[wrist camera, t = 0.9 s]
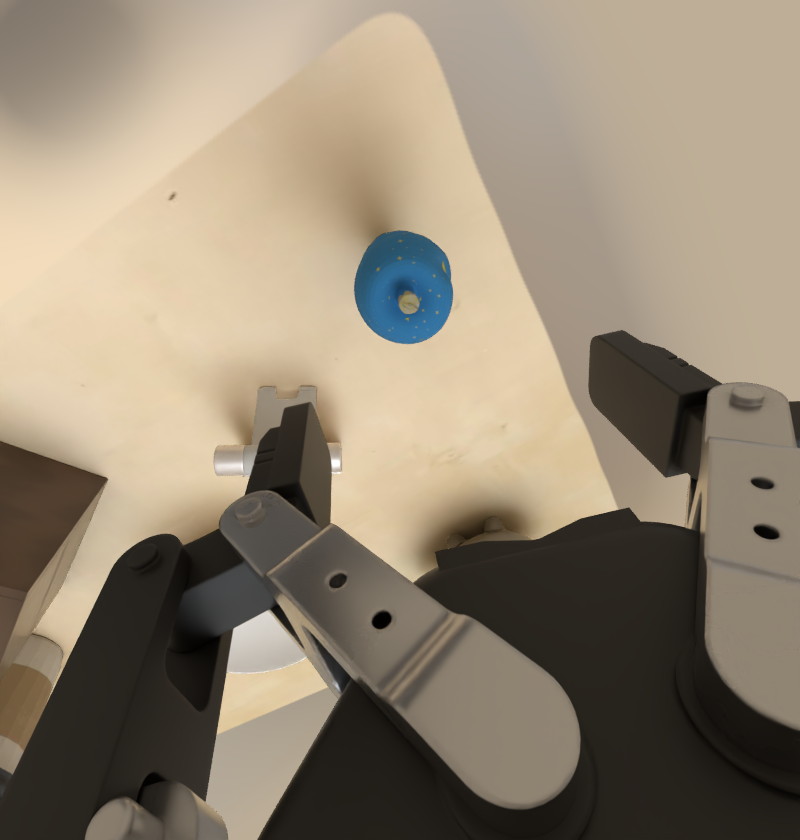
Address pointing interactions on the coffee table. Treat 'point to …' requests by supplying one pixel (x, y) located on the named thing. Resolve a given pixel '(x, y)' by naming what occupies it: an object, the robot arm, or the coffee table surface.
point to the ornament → (404, 287)
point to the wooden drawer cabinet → (37, 538)
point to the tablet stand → (266, 417)
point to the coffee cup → (25, 699)
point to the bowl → (261, 647)
